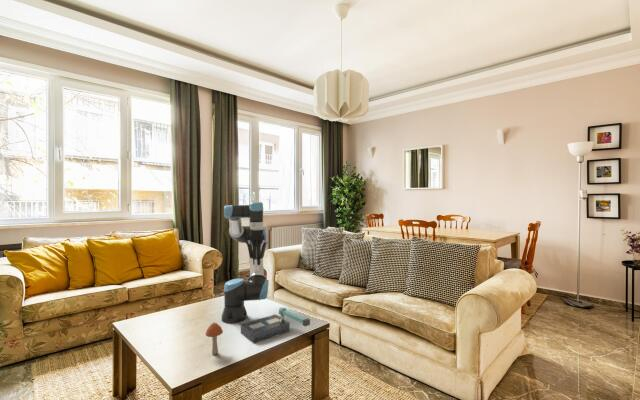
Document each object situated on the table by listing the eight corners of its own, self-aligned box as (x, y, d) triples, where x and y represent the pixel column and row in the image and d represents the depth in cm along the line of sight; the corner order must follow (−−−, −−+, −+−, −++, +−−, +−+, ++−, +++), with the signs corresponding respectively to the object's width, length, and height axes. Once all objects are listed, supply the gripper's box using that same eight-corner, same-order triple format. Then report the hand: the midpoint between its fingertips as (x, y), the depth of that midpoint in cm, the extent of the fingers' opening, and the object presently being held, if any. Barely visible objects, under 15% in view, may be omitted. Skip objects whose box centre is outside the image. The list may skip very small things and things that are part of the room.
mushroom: (208, 349, 159) (207, 319, 159) (224, 349, 160) (224, 318, 160) (203, 358, 151) (203, 326, 151) (221, 357, 152) (220, 325, 152)
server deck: (240, 333, 178) (240, 319, 178) (277, 322, 192) (277, 309, 192) (253, 343, 166) (253, 328, 166) (291, 331, 180) (291, 317, 180)
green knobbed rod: (277, 313, 186) (277, 309, 185) (283, 312, 188) (283, 307, 188) (304, 326, 168) (304, 321, 168) (310, 324, 171) (310, 319, 171)
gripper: (242, 229, 183) (243, 271, 184) (264, 230, 179) (264, 272, 180) (249, 228, 190) (249, 268, 191) (269, 228, 187) (270, 269, 187)
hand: (256, 270), depth 185 cm, fingers closed
